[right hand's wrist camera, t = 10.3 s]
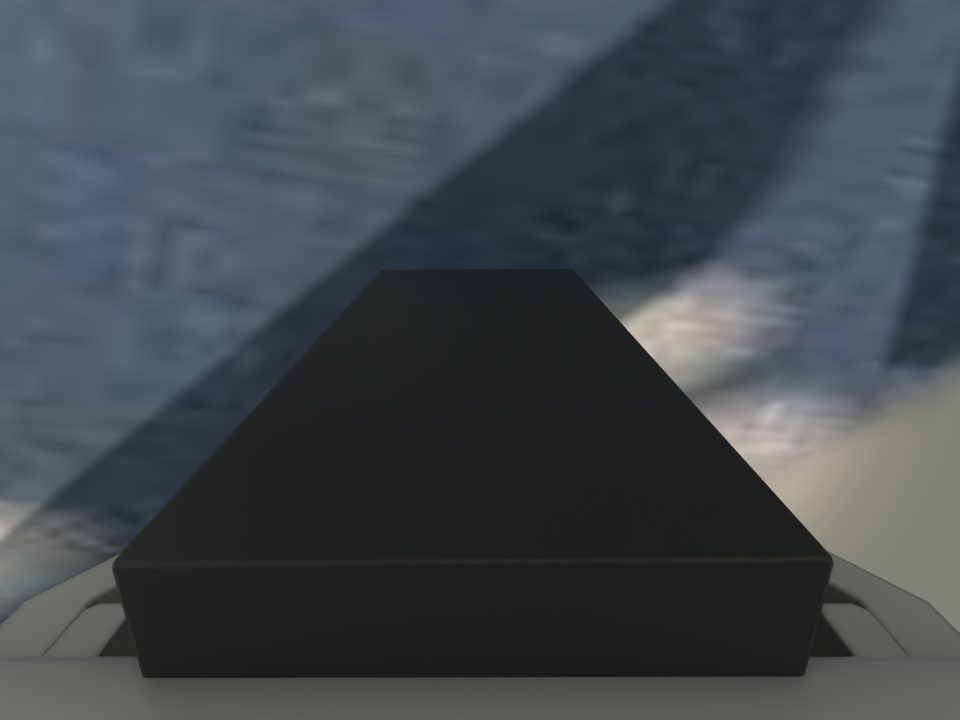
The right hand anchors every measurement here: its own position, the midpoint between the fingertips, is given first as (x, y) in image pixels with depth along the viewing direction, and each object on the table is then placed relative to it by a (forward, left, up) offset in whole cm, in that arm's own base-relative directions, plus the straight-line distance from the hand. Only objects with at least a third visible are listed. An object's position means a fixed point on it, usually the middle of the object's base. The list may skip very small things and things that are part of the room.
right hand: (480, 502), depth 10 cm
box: (+4, +6, -8) cm, 11 cm away
